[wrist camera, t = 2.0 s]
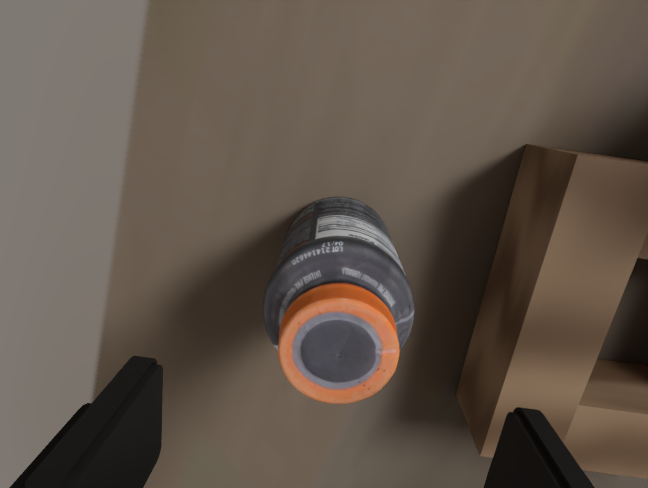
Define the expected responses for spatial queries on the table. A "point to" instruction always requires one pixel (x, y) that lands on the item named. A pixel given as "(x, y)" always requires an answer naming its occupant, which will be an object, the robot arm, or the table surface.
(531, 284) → the socket block
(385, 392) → the table surface
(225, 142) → the table surface
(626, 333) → the table surface
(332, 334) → the pill bottle
